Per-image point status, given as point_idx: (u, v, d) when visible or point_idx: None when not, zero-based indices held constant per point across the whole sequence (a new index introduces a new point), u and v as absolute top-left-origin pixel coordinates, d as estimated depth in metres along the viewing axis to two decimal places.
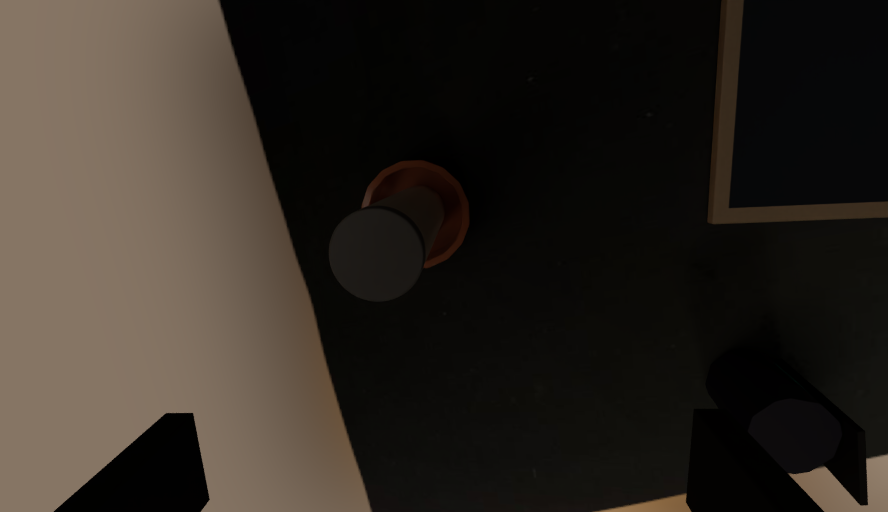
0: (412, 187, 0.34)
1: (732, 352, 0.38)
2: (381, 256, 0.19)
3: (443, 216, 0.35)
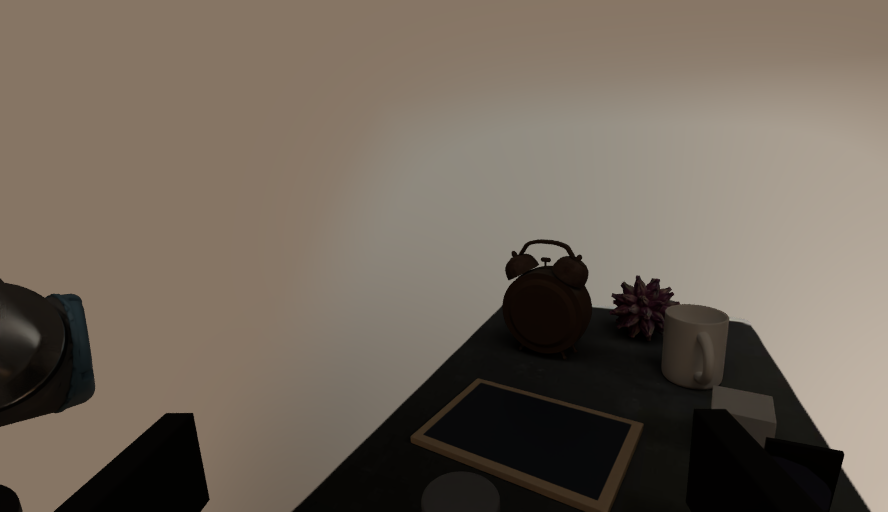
0: None
1: None
2: (463, 495, 0.24)
3: None
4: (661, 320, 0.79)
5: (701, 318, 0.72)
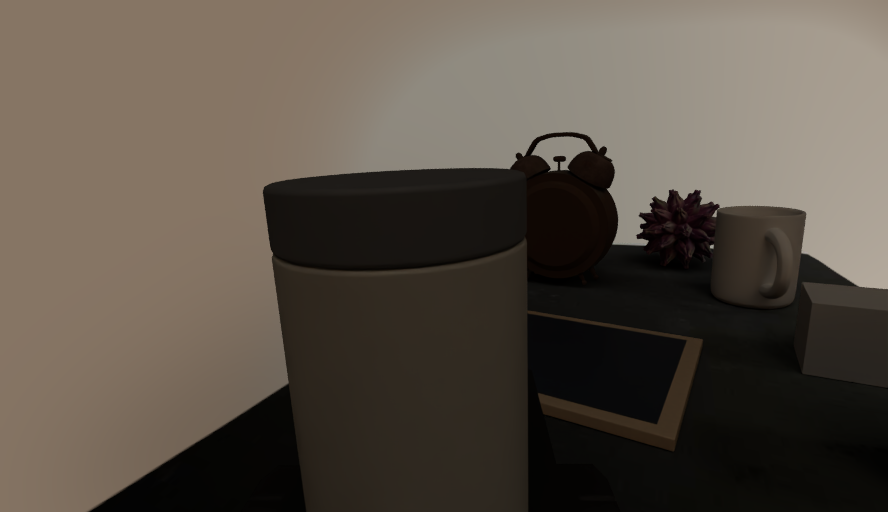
0: None
1: None
2: (408, 174, 0.07)
3: None
4: (704, 237, 0.63)
5: None
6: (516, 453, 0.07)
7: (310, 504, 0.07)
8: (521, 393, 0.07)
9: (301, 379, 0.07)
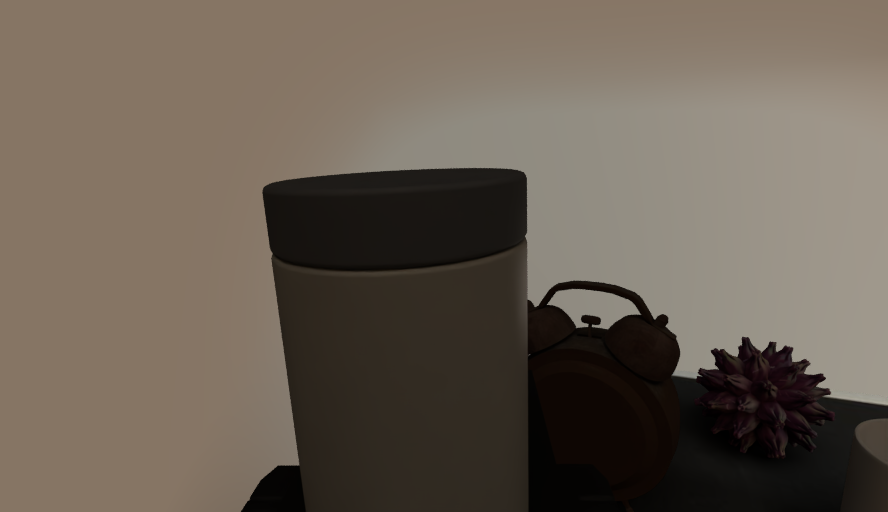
0: None
1: None
2: (408, 174, 0.07)
3: None
4: (807, 430, 0.42)
5: None
6: (517, 453, 0.07)
7: (310, 505, 0.07)
8: (521, 394, 0.07)
9: (301, 380, 0.07)
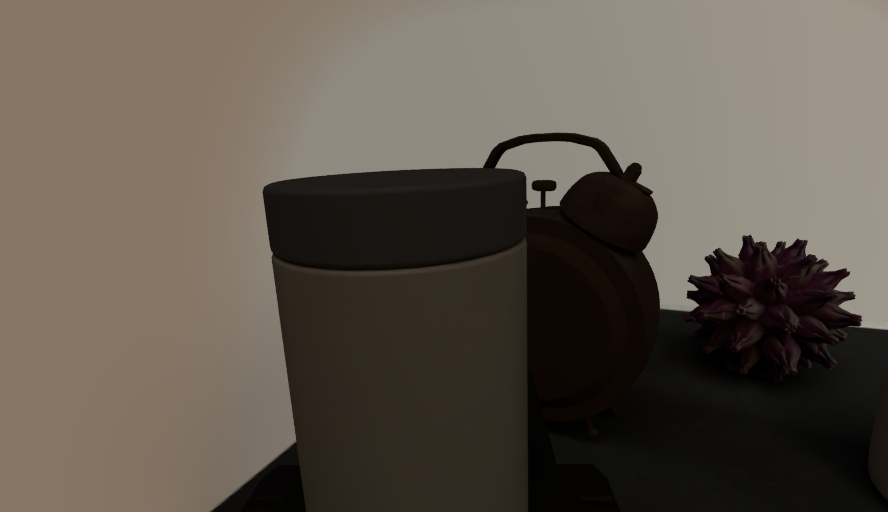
0: None
1: None
2: (408, 174, 0.07)
3: None
4: (826, 336, 0.32)
5: None
6: (516, 452, 0.07)
7: (310, 504, 0.07)
8: (521, 393, 0.07)
9: (301, 379, 0.07)
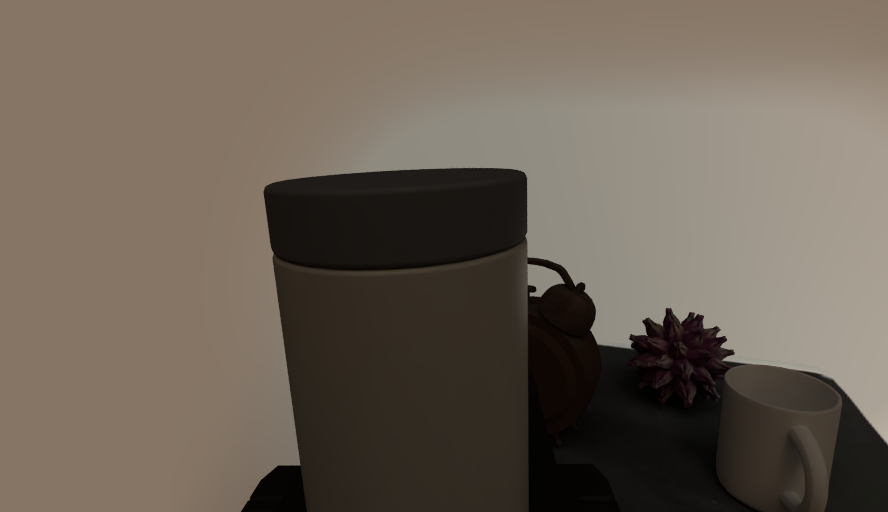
0: None
1: None
2: (409, 174, 0.07)
3: None
4: (708, 381, 0.51)
5: (782, 388, 0.43)
6: (517, 452, 0.07)
7: (311, 504, 0.07)
8: (521, 393, 0.07)
9: (302, 379, 0.07)
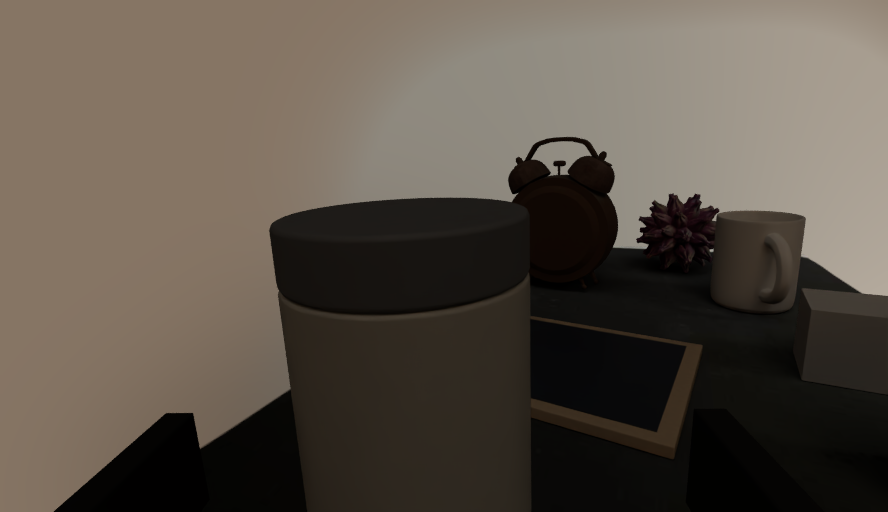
0: None
1: None
2: (412, 209, 0.08)
3: None
4: (704, 241, 0.63)
5: None
6: (520, 485, 0.07)
7: None
8: (524, 427, 0.07)
9: (307, 416, 0.07)
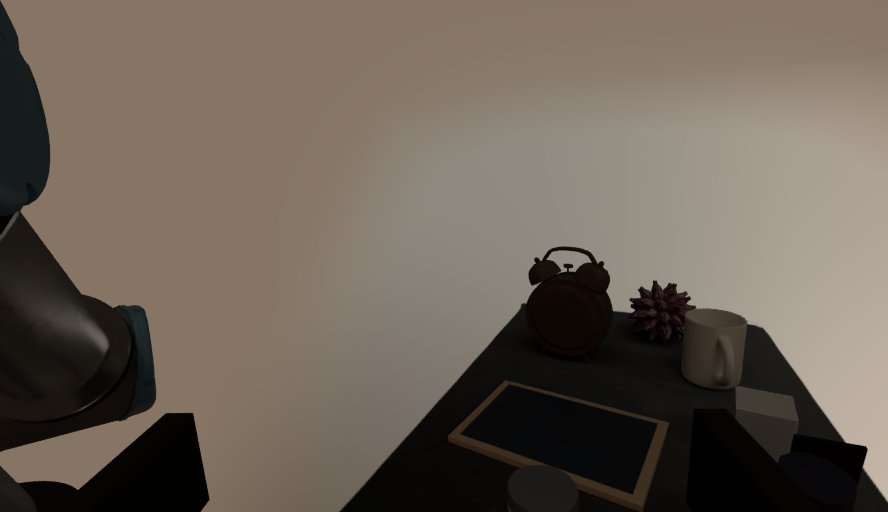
0: None
1: None
2: (544, 484, 0.27)
3: None
4: (679, 323, 0.82)
5: (719, 322, 0.75)
6: None
7: None
8: None
9: None
